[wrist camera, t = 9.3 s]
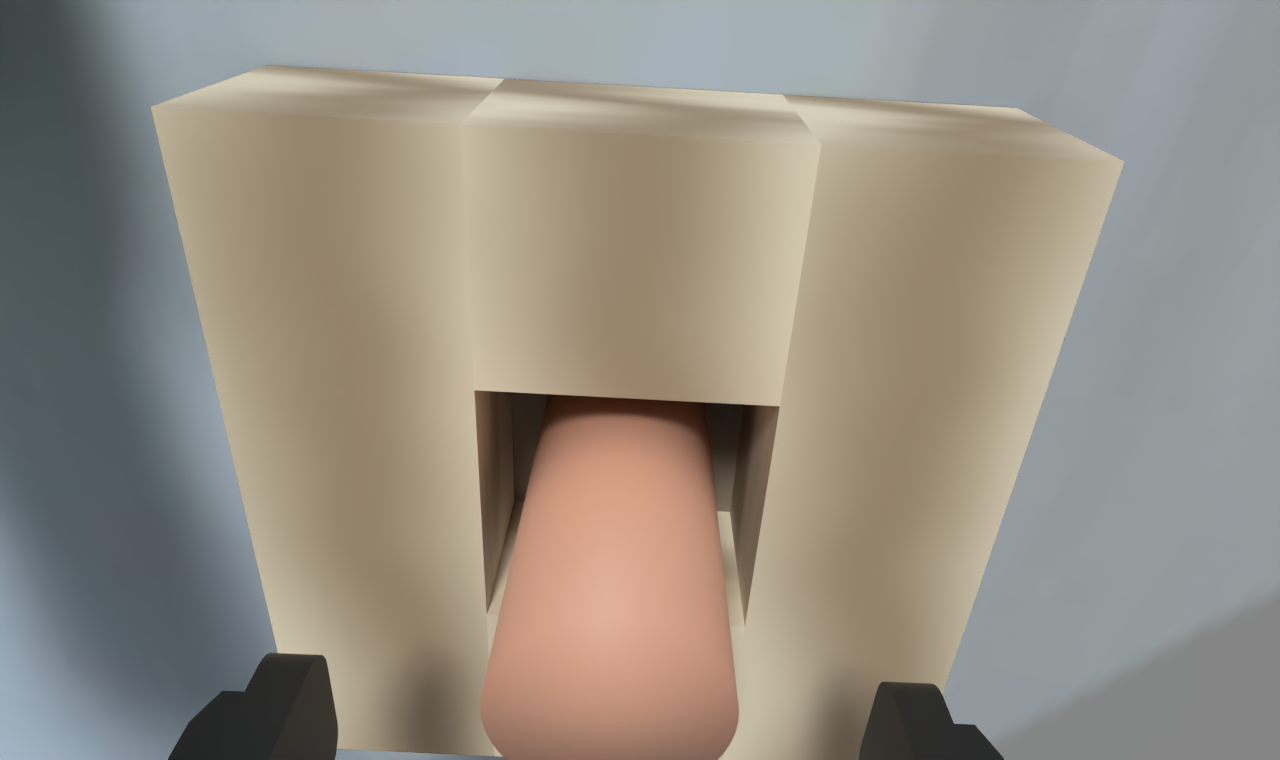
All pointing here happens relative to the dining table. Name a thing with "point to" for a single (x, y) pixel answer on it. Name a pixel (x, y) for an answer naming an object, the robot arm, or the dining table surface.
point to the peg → (615, 593)
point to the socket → (624, 358)
